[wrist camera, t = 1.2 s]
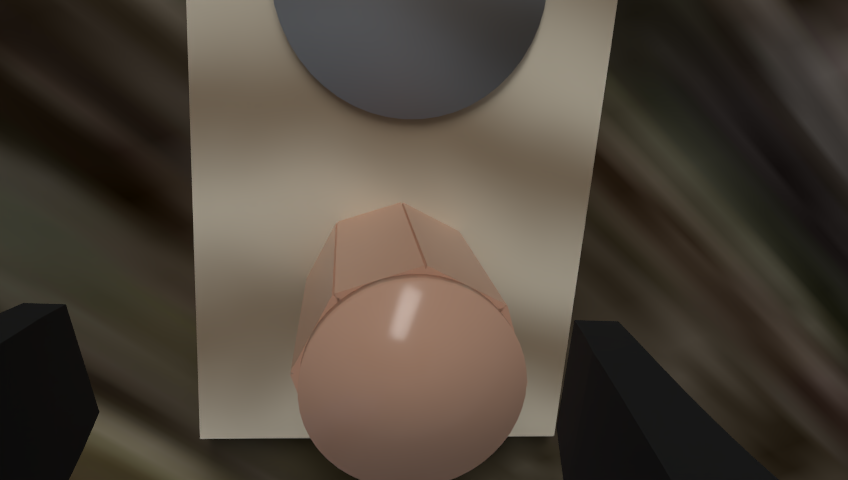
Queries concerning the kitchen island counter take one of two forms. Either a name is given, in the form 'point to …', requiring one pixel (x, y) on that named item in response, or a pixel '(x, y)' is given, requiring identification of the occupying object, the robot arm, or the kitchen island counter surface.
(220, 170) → the board
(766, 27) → the kitchen island counter surface
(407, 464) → the wooden block
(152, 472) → the kitchen island counter surface
